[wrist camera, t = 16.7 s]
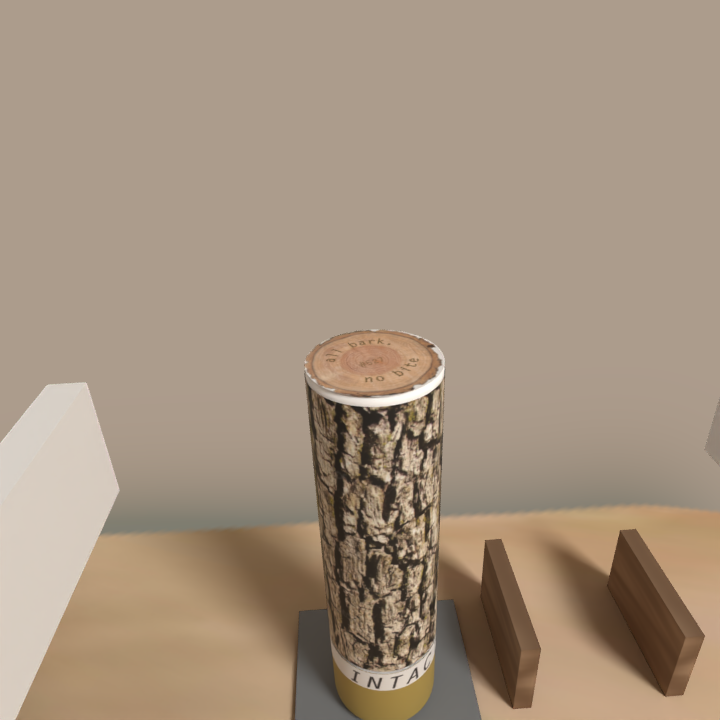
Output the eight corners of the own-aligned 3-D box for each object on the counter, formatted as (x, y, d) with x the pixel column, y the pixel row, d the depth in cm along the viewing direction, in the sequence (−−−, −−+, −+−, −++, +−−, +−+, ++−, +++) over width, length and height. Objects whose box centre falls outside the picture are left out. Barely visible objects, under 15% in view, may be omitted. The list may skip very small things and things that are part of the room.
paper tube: (320, 659, 42) (284, 347, 30) (404, 621, 44) (402, 319, 32) (360, 750, 36) (336, 412, 24) (453, 702, 39) (473, 373, 27)
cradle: (513, 708, 38) (521, 650, 36) (480, 595, 46) (485, 540, 43) (683, 695, 39) (704, 635, 36) (622, 584, 47) (635, 529, 44)
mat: (293, 786, 35) (292, 783, 35) (299, 614, 45) (299, 611, 45) (492, 769, 35) (492, 766, 35) (453, 602, 46) (453, 599, 46)
